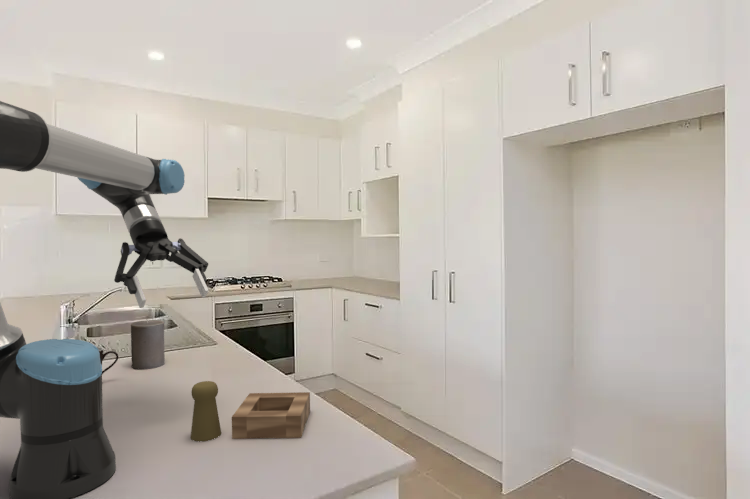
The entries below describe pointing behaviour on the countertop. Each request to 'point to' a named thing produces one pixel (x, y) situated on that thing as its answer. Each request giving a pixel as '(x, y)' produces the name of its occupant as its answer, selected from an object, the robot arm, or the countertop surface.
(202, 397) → the cork
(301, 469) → the countertop surface
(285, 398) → the socket block
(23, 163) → the robot arm
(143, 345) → the pillar candle
